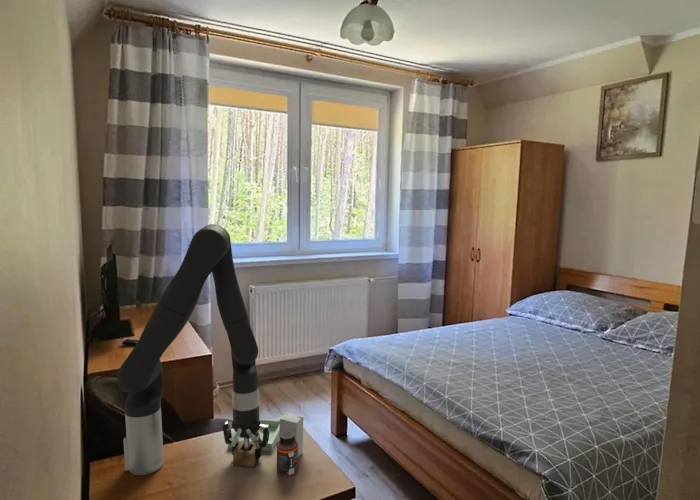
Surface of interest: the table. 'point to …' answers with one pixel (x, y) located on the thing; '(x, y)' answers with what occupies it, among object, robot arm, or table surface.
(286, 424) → the skincare box
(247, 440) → the plate with metal peg
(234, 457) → the ring
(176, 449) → the table surface
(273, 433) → the tray
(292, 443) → the supplement bottle
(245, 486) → the table surface
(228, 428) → the robot arm
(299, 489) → the table surface
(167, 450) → the table surface
